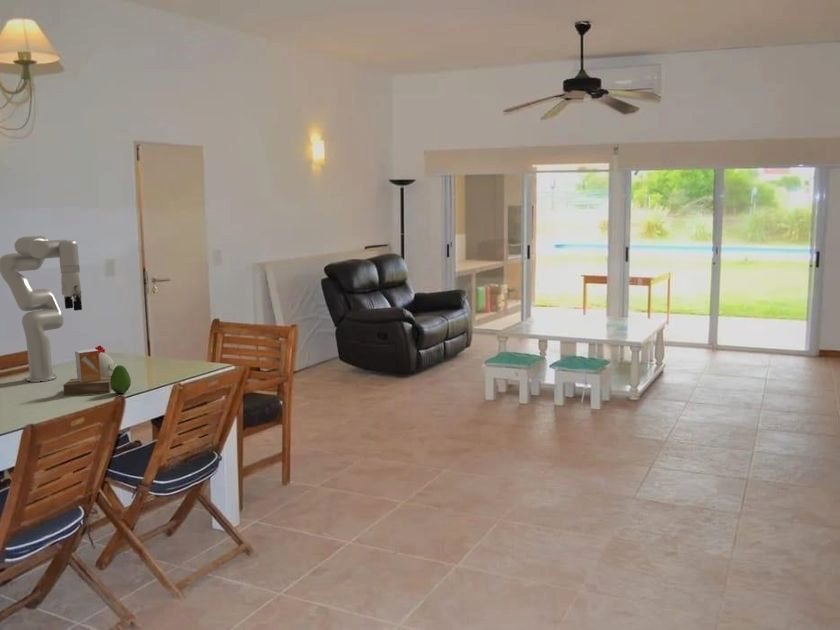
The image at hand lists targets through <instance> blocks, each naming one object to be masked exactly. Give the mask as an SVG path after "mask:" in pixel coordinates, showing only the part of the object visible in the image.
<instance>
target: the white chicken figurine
mask: <svg viewBox="0 0 840 630" xmlns="http://www.w3.org/2000/svg"><path fill="white" fill-rule="evenodd" d="M94 349H96V350H98V351H99V362H100V374H101V377H111V376H112V373H113V371H114V369H115V367H116V366H117V364H116V361H115V362H114V360H113V358H111V357H110V356H109V355H108V354H107V353H105V352H106V349H105V348H104V347H102V345H97V346H96V347H95V348H94Z"/></svg>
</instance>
